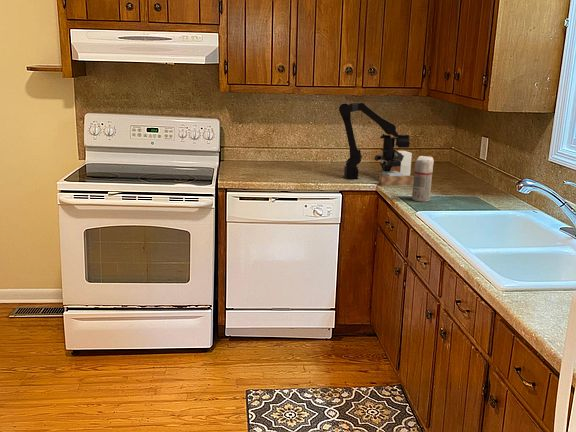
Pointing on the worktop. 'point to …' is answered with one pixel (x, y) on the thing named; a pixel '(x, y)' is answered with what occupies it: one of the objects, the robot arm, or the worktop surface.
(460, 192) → the worktop surface
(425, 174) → the spray can
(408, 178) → the board
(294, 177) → the worktop surface
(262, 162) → the worktop surface
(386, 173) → the block
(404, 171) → the small box
